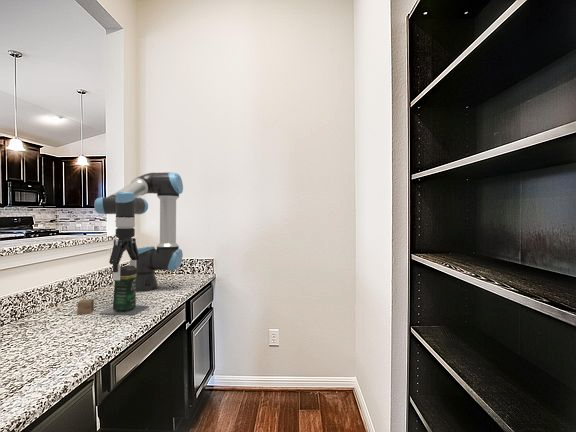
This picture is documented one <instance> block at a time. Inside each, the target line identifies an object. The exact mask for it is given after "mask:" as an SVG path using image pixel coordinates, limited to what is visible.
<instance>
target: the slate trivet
mask: <svg viewBox="0 0 576 432" xmlns="http://www.w3.org/2000/svg"><path fill="white" fill-rule="evenodd" d="M149 307H150V306H149V305H136V306H135V308H133V309H131V310H129V311H122V312H119V311H115V310H113V306H112V307H109V308H108V309H105V310H103V311H100V312H99V314H105V315H106V316H107V315H109V316H136V315H139V313H141V312H143V311H145V310H147V309H149Z"/></svg>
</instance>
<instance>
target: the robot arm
mask: <svg viewBox="0 0 576 432" xmlns="http://www.w3.org/2000/svg"><path fill="white" fill-rule="evenodd" d="M183 191H184V184H183V180H182V178H181V175H180V174H179V173H177V172H148V173H145V174H142V175H140V176H137V177H135V178H134V179H132V180H131V181H130V183H129V184H128V185H126V186H124V187H123V188H121V189H118V190H117V191H115V192H113V193H112V194H110V195H109V196H107V197H103V196H102V197H97V198H96V199H95V200H94V204H93V205H94V210H95V213H97V214H99V215H100V214H101V215H115V221H114V222H115V227H116V229H115V237H116V238H118V239H114V240H113V245H112V246H113V247H112V251H111V253H110V254H111V255H110V257H109V260H108V261H109V265H112V281H114V280H120V267H121V264H120V262H121V259H122V258H123V254H124V252H127V254H128V257H129V258H130V260H129V266H134V267H136V269H137V273H136V274H137V275H136V292H146V291H147V292H149V291H153V290H157V289H158V288H159V283H158V280H157V277H156V275H155V272H156V271H168V272H169V271H176V270H178V269H179V268H180V267H181V264H182V262H183V261H182V260H183V250H182V249H181V248H180V245H179V244H178V243H177V200H178V199H179V198H180V194H182V193H183ZM147 194H156V196H157V198H158V199H159V243H158V244H157V245H156V247H155V246H145V247H144V246H143V247H137V246H138V245H137V242H136V238H135V234H136V233H135V232H136V229H135V227H136V221H135V220H136V219H135V218H136V217H135V216H136V215H142V214H145V213H146V212H147V211H148V209H149V203H148V201H147V200H146V199H145V198H142V197H140V196H145V195H147Z"/></svg>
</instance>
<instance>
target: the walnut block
mask: <svg viewBox="0 0 576 432" xmlns="http://www.w3.org/2000/svg"><path fill="white" fill-rule="evenodd" d="M76 309H77V310H76V311H77V312H76V313H77V315H78V316H79V315H90V313H91V314H93V312H94V311H95V310H94V309H95V301H94V298H93V299H92V298H91V299H80V300H79V301H77V308H76Z"/></svg>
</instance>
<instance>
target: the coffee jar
mask: <svg viewBox="0 0 576 432" xmlns="http://www.w3.org/2000/svg"><path fill="white" fill-rule="evenodd" d="M136 273H137V269H136V267H134V266H130V265H123V266H120V280H113V281H114V283H113V284H114V289H113V300H112V307H113V310H115V311H119V312H122V311H129V310H131V309H133V308H135V306H137V298H136V292H137V291H136V275H137V274H136Z"/></svg>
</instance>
